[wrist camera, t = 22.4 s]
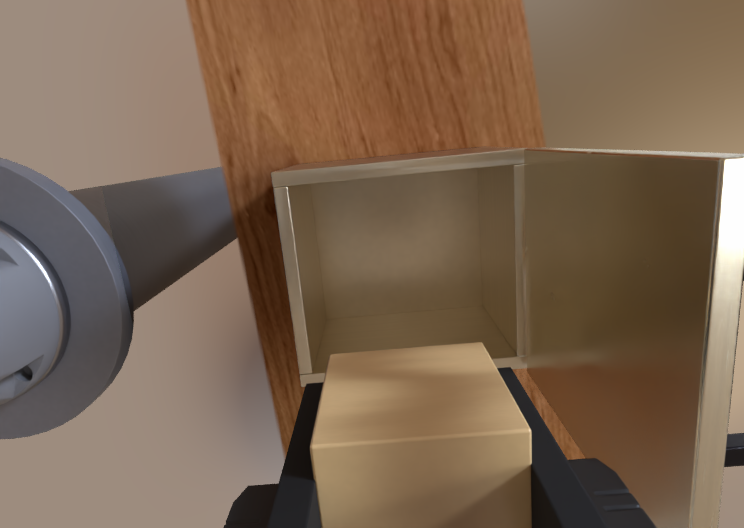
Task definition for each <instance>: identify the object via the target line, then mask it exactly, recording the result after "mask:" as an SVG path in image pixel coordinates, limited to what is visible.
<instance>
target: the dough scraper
mask: <svg viewBox="0 0 744 528" xmlns="http://www.w3.org/2000/svg"><path fill="white" fill-rule="evenodd" d="M524 183H525V254H526V324H527V372H528V374H529V375H530V377H531V378H532V379H533V381H534V382H535V384H536V385H537V387H538V388H539V390H540V391H541V393H542V394H543V396H544V397H545V399H546V400H547V402H548V403H549V405H550V406H551V408H552V409H553V411H554V412H555V413H556V415H557V416H558V418H559V419H560V421H561V422H562V424H563V425H564V427H565V428H566V430H567V431H568V433H569V434H570V436H571V437H572V439H573V440H574V442H575V443H576V445H577V446H578V447H579V449H580V450H581V452H582V453H583V455H584V456H585V458H586V459H588V458H597V459H598V460H600V461H601V462H602V463H604V464H605V465H607V466H608V467H609V468H611V469H612V470H614V471H615V472H616V473H617V474H618V476H619V477H620V478H621V480H622V481H623V482H624V484H625V485H626V486H627V488H628V489H629V492H630V493H632V495H633V496H634V497H635V499H636V500H637V501H638V503H639V504H640V508H643V509H644V511H645V512H646V514H647V515H648V516H649V518H650V519H651V520H652V522H653V523H654V524H655V526H656V527H657V528H718V521H719V511H720V502H721V492H722V481H723V472H724V467H731V466H744V433H737V434H727V433H728V423H729V413H730V403H731V394H732V384H733V374H734V363H735V354H736V344H737V335H738V325H739V315H740V303H741V295H742V285H743V281H744V154H736V153H735V154H734V153H701V152H669V151H636V150H601V149H570V148H568V149H567V148H527V149H524Z"/></svg>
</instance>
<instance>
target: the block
mask: <svg viewBox="0 0 744 528" xmlns="http://www.w3.org/2000/svg"><path fill="white" fill-rule="evenodd" d="M310 455H311V462H312V470H313V477H314V480H315V484H316V491H317V498H318V506H319V513H320V520H321V528H532V507H531V464H532V432H531V429H530V427H529V425H528V423H527V422H526V420H525V418H524V416H523V414H522V413H521V411H520V409H519V407H518V405H517V404H516V402H515V400H514V398H513V396H512V395H511V393H510V391H509V389H508V387H507V386H506V384H505V382H504V380H503V379H502V377H501V375H500V373H499V371H498V370H497V368H496V366H495V364H494V362H493V361H492V359H491V357H490V355H489V353H488V352H487V350H486V348H485V346H484V344H483V343H482V342H476V343H463V344H451V345H439V346H426V347H414V348H402V349H390V350H377V351H365V352H353V353H340V354H331V355H329V359H328V363H327V368H326V373H325V377H324V382H323V387H322V392H321V396H320V401H319V406H318V410H317V415H316V420H315V424H314V429H313V434H312V439H311V443H310Z"/></svg>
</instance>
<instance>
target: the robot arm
mask: <svg viewBox="0 0 744 528" xmlns="http://www.w3.org/2000/svg"><path fill="white" fill-rule="evenodd" d="M70 328H71V315H70V307H69V302H68V298H67V295H66V291H65V289H64V286H63V284H62V281H61V279H60V277H59V276H58V274H57V272H56V270H55V269H54V267H53V265H52V264H51V262H50V261H49V260H48V259H47V257H46V256H45V255H44V254H43V252H42V251H41V250H40V249H39V248H38V247H37V246H36V245H35V244H34V243H33V242H32V241H31V240H29V239H28V238H27V237H26V236H24V235H23V234H22V233H21V232H19V231H18V230H16V229H15V228H13V227H12V226H10V225H8V224H6V223H4V222H3V221H1V220H0V405H1V404H4V403H6V402H8V401H10V400H13V399H15V398H16V397H19V396H21V395H22V394H24V393H26V392H27V391H29V390H30V389H32V388H33V387H34V386H36V385H37V384H39V383H40V382H41V381H43V380H44V379H45V378H46V377H47V376H48V375H49V374H51V373H52V371H53V370H54V369H55V368H56V367H57V365H58V364H59V362H60V360H61V359H62V357H63V355H64V353H65V350H66V347H67V345H68V341H69V336H70ZM497 370H498V371H499V373H500V375H501V377H502V379H503V380H504V382H505V384H506V386H507V387H508V389H509V391H510V393H511V395H512V396H513V398H514V400H515V402H516V404H517V405H518V407H519V409H520V411H521V413H522V414H523V416H524V418H525V420H526V422H527V423H528V425H529V427H530V429H531V432H532V464H531V507H532V528H657V527H656V526H655V524H654V523H653V522H652V520H651V519H650V518H649V516H648V515H647V514H646V512H645V511H644V509H643V508H640V504H639V503H638V501H637V500H636V499H635V497H634V496H633V495H632V493H630V492H629V489H628V488H627V486H626V485H625V484H624V482H623V481H622V480H621V478H620V477H619V476H618V474H617V473H616V472H615V471H614V470H612V469H611V468H609V467H608V466H607V465H605V464H604V463H602V462H601V461H600V460H598V459H597V458H588V459H575V460H567V459H566V457H565V455H564V454H563V452H562V451H561V449H560V447H559V446H558V444H557V442H556V441H555V439H554V437H553V436H552V434H551V433H550V431H549V429H548V428H547V426H546V424H545V423H544V421H543V419H542V418H541V416H540V415H539V413H538V411H537V410H536V408H535V406H534V405H533V403H532V401H531V400H530V398H529V397H528V395H527V393H526V392H525V390H524V388H523V387H522V385H521V383H520V382H519V380H518V379H517V377H516V375H515V374H514V372H513V370H512V369H511V367H504V368H497ZM322 387H323V382H320V383H307V384H306V387H305V390H304V394H303V398H302V401H301V405H300V409H299V412H298V416H297V419H296V423H295V427H294V430H293V434H292V437H291V441H290V445H289V448H288V452H287V456H286V459H285V463H284V466H283V470H282V474H281V477H280V481H279V484H267V485H255V486H248V487H247V488H246V489H245V490H244V491H243V492H242V493H241V495H240V496H239V497H238V498H237V499H236V500H235V501H234V502H233V505H232V507H231V510H230V512H229V515H228V518H227V520H226V525H224V528H321V520H320V513H319V506H318V498H317V491H316V484H315V480H314V477H313V470H312V462H311V455H310V443H311V439H312V434H313V429H314V424H315V420H316V415H317V410H318V406H319V401H320V396H321V392H322Z"/></svg>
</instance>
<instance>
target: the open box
mask: <svg viewBox="0 0 744 528" xmlns="http://www.w3.org/2000/svg"><path fill="white" fill-rule="evenodd" d="M524 149H527V148H512V147H475V148H464V149H454V150H443V151H432V152H422V153H411V154H401V155H390V156H380V157H369V158H359V159H348V160H337V161H327V162H316V163H306V164H298V165H294V166H291V167H288V168H284V169H281V170H277V171H274V172H271V178H272V185H273V187H274V188H273V191H274V198H275V205H276V212H277V219H278V226H279V233H280V240H281V247H282V254H283V261H284V268H285V275H286V282H287V289H288V296H289V303H290V310H291V317H292V324H293V331H294V338H295V345H296V353H297V360H298V367H299V373H300V382H301V387H306V384H307V383H320V382H324V377H325V373H326V368H327V363H328V359H329V355H331V354H340V353H353V352H365V351H377V350H390V349H402V348H414V347H426V346H439V345H451V344H463V343H476V342H482V343H483V344H484V346H485V348H486V350H487V352H488V353H489V355H490V357H491V359H492V361H493V362H494V364H495V366H496V368H504V367H511V369H520V368H527V324H526V254H525V183H524Z"/></svg>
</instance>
